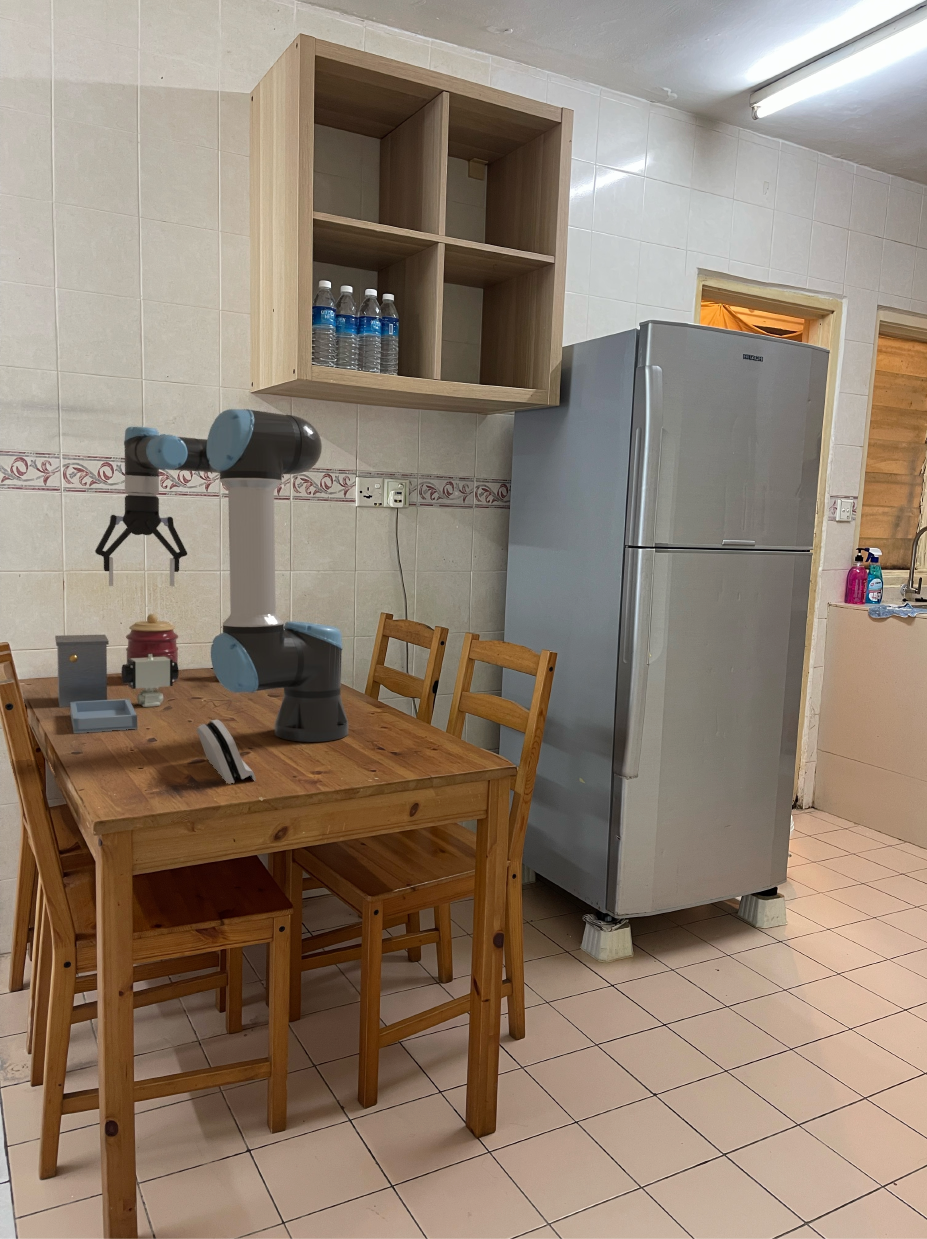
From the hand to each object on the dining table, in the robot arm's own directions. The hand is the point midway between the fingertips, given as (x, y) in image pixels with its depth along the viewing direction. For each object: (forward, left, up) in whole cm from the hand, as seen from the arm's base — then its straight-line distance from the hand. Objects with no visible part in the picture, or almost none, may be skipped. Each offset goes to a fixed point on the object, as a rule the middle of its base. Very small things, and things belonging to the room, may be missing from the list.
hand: (141, 585), depth 212 cm
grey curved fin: (-66, -7, -27) cm, 72 cm away
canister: (+21, -5, -27) cm, 35 cm away
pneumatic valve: (-9, -1, -27) cm, 29 cm away
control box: (-1, +13, -27) cm, 30 cm away
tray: (-23, +10, -27) cm, 37 cm away
